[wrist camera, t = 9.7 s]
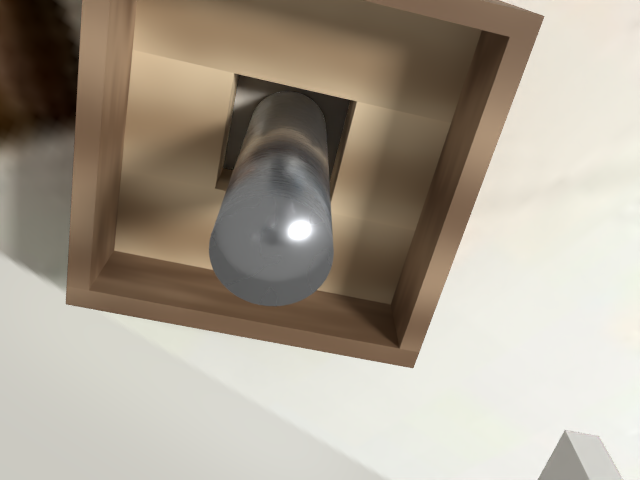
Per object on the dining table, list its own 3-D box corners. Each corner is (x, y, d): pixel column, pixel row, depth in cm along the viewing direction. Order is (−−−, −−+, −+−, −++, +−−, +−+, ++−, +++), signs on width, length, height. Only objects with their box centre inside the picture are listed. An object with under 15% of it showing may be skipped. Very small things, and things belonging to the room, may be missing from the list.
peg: (257, 83, 31) (219, 183, 18) (334, 100, 31) (347, 210, 19) (244, 156, 33) (200, 293, 20) (316, 172, 33) (317, 316, 21)
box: (139, -92, 28) (87, -101, 21) (495, -1, 29) (544, 16, 23) (110, 238, 35) (65, 304, 29) (396, 294, 37) (413, 368, 30)
